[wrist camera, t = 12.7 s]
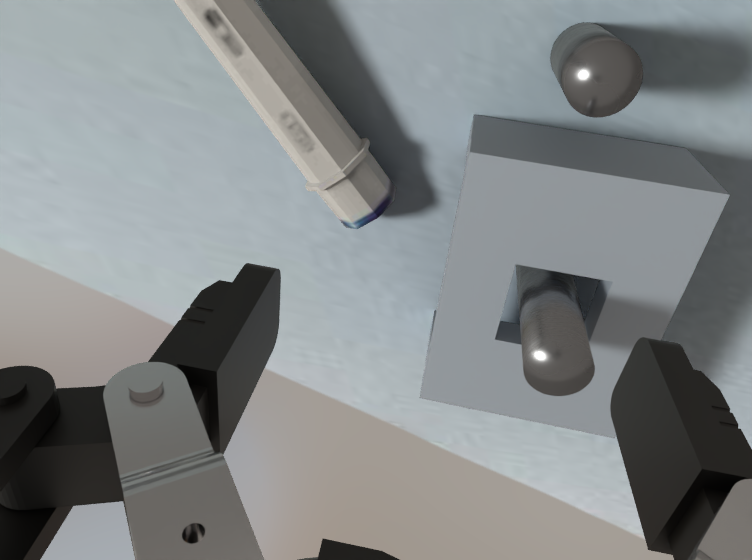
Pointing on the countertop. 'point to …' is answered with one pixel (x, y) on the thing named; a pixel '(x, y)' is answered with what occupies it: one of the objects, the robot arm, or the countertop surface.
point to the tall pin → (552, 332)
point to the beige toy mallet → (294, 108)
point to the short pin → (595, 70)
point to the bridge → (564, 259)
